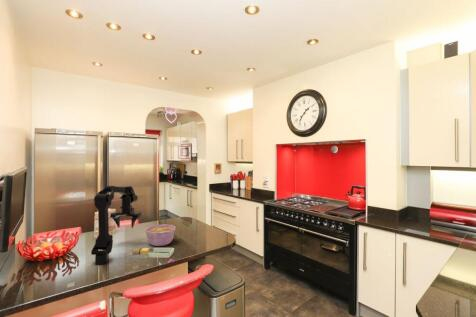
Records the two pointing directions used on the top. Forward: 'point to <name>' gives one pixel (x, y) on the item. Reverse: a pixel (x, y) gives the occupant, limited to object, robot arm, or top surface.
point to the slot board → (138, 254)
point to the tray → (162, 255)
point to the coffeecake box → (110, 222)
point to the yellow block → (144, 251)
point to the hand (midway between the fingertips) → (125, 227)
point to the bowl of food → (160, 234)
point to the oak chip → (136, 251)
